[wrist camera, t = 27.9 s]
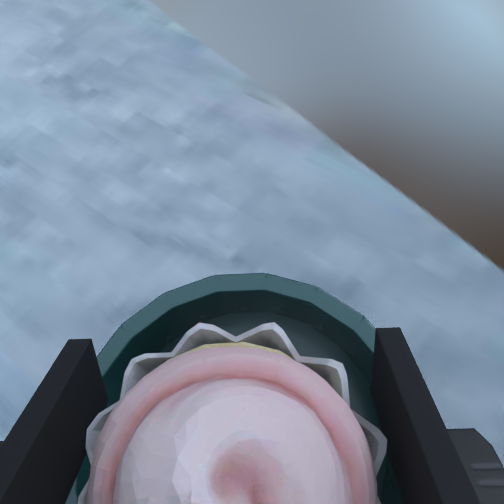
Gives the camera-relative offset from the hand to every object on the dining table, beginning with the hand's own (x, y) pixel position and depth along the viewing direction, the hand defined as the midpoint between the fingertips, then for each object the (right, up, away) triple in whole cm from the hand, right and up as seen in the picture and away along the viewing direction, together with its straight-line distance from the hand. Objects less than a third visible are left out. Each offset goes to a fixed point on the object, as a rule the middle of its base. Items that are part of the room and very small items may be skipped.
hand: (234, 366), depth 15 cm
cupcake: (0, -4, +3) cm, 5 cm away
